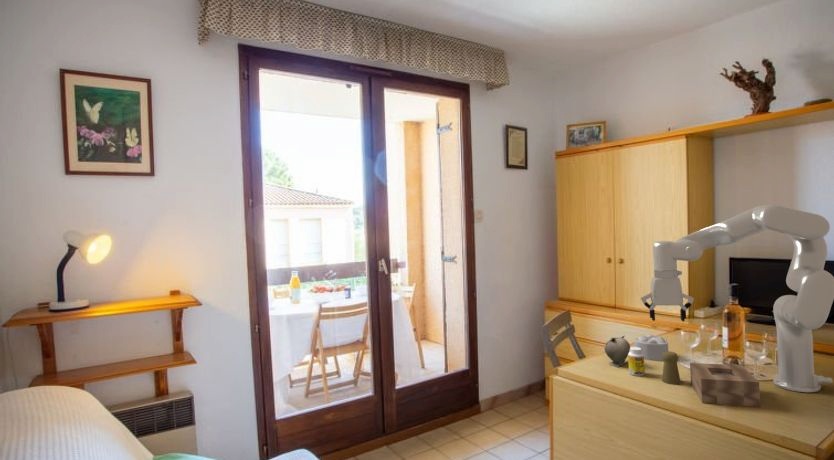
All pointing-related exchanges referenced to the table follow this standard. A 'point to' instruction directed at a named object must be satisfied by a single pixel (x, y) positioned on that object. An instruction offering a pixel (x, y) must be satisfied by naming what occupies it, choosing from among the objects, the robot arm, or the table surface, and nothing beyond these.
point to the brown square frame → (725, 384)
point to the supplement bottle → (636, 361)
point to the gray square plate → (721, 374)
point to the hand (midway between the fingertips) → (667, 320)
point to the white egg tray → (652, 347)
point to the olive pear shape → (670, 368)
